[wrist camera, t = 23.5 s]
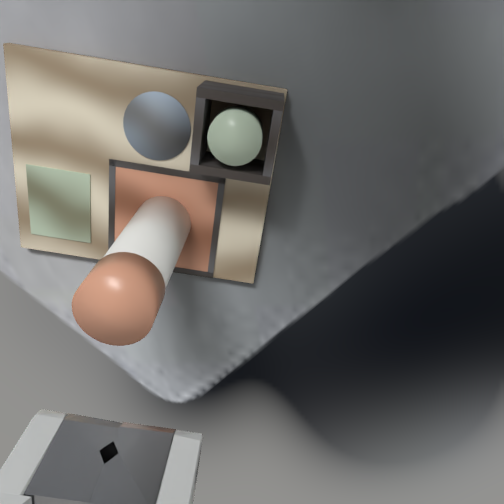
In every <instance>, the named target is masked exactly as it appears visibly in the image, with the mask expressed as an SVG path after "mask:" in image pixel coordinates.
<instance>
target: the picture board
mask: <svg viewBox="0 0 504 504" xmlns="http://www.w3.org/2000/svg"><path fill="white" fill-rule="evenodd" d="M3 46H4V58H5V69H6V81H7V92H8V104H9V115H10V127H11V138H12V149H13V161H14V172H15V184H16V195H17V207H18V218H19V230H20V241H21V247H23V248H29V249H35V250H42V251H48V252H55V253H61V254H67V255H74V256H80V257H86V258H93V259H99V260H100V259H102V258H103V257H104V255H105V254H106V253H107V251H108V250H109V249H110V247H111V246H112V245H113V243H114V242H115V240H116V239H117V238H118V236H119V235H120V234H121V232H122V231H123V230H124V228H125V227H126V225H127V224H128V223H129V221H130V220H131V219H132V217H133V216H134V214H135V213H136V212H137V210H138V209H139V208H140V206H141V205H142V204H143V203H144V202H145V201H146V200H148V199H150V198H152V197H156V196H166V197H170V198H173V199H175V200H177V201H178V202H180V203H181V204H182V205H183V206H184V207H185V208H186V210H187V211H188V213H189V216H190V219H191V228H190V232H189V234H188V236H187V239H186V241H185V244H184V246H183V249H182V251H181V253H180V256H179V258H178V261H177V263H176V265H175V268H174V270H173V272H177V273H184V274H190V275H196V276H203V277H209V278H213V277H214V278H220V279H227V280H233V281H240V282H246V283H252V284H253V282H254V276H255V271H256V265H257V259H258V254H259V248H260V242H261V237H262V231H263V225H264V220H265V214H266V208H267V203H268V197H269V191H270V186H271V180H272V174H273V169H274V163H275V157H276V152H277V146H278V140H279V135H280V129H281V124H282V118H283V112H284V107H285V101H286V95H287V89H284V88H277V87H271V86H265V85H259V84H253V83H247V82H241V81H235V80H229V79H223V78H217V77H211V76H205V75H199V74H193V73H187V72H181V71H175V70H169V69H163V68H157V67H151V66H145V65H139V64H133V63H127V62H121V61H115V60H109V59H103V58H97V57H91V56H85V55H79V54H73V53H67V52H61V51H55V50H49V49H43V48H36V47H30V46H24V45H18V44H12V43H4V44H3ZM230 106H243V107H246V108H248V109H250V110H252V111H253V112H254V113H255V114H256V115H257V116H258V117H259V119H260V121H261V123H262V127H263V139H262V145H261V148H260V151H259V153H258V154H257V156H256V157H255V158H254V159H253V160H252V161H250V162H249V163H247V164H244V165H240V166H231V165H227V164H224V163H222V162H221V161H219V160H218V159H217V158H216V157H215V156H214V155H213V154H212V152H211V150H210V148H209V146H208V140H207V135H208V130H209V127H210V125H211V123H212V122H213V120H214V119H215V117H216V116H217V114H218V113H219V112H220V111H222V110H223V109H225V108H227V107H230Z"/></svg>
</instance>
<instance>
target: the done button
mask: <svg viewBox="0 0 504 504" xmlns="http://www.w3.org/2000/svg"><path fill="white" fill-rule="evenodd" d="M262 139H263V127H262V123H261V121H260V119H259V117H258V116H257V115H256V114H255V113H254V112H253V111H252V110H250V109H248V108H246V107H243V106H230V107H227V108H225V109H223V110H222V111H220V112H219V113H218V114H217V116H216V117H215V119H214V120H213V122H212V123H211V125H210V127H209V130H208V135H207V140H208V146H209V148H210V150H211V152H212V154H213V155H214V156H215V157H216V158H217V159H218V160H219V161H221V162H222V163H224V164H227V165H231V166H240V165H244V164H247V163H249V162H250V161H252V160H253V159H254V158H255V157H256V156H257V154H258V153H259V151H260V148H261V145H262Z"/></svg>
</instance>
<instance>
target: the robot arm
mask: <svg viewBox="0 0 504 504" xmlns="http://www.w3.org/2000/svg"><path fill="white" fill-rule="evenodd" d="M202 440H203V434H201V433H194V432H188V431H180V430H176V429H169V428H163V427H155V426H148V425H141V424H133V423H126V422H123V423H120V422H114V421H108V420H103V419H97V418H92V417H86V416H81V415H75V414H68V413H62V412H56V411H50V410H44V409H41V410H40V411H39V412H38V413H37V414H36V415H35V416H34V417H33V418H32V420H31V421H30V423H29V425H28V426H27V428H26V430H25V431H24V433H23V434H22V436H21V438H20V439H19V441H18V442H17V444H16V446H15V447H14V449H13V450H12V452H11V454H10V455H9V457H8V458H7V460H6V462H5V463H4V465H3V466H2V468H1V470H0V504H193V501H194V493H195V487H196V481H197V474H198V466H199V460H200V454H201V447H202Z"/></svg>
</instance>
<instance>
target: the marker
mask: <svg viewBox="0 0 504 504" xmlns="http://www.w3.org/2000/svg"><path fill="white" fill-rule="evenodd" d="M190 228H191V219H190V216H189V213H188V211H187V210H186V208H185V207H184V206H183V205H182V204H181V203H180V202H178V201H177V200H175V199H173V198H170V197H166V196H156V197H152V198H150V199H148V200H146V201H145V202H144V203H143V204H142V205H141V206H140V208H139V209H138V210H137V212H136V213H135V214H134V216H133V217H132V219H131V220H130V221H129V223H128V224H127V225H126V227H125V228H124V230H123V231H122V232H121V234H120V235H119V236H118V238H117V239H116V240H115V242H114V243H113V245H112V246H111V247H110V249H109V250H108V251H107V253H106V254H105V255H104V257H103V258H102V259H100V260H99V261H98V262H97V264H96V265H95V266H94V268H93V269H92V270H91V272H90V273H89V274H88V276H87V277H86V278H85V280H84V281H83V282H82V284H81V285H80V286H79V288H78V289H77V291H76V292H75V294H74V296H73V300H72V311H73V315H74V318H75V320H76V322H77V323H78V325H79V326H80V327H81V329H82V330H83V331H84V332H85V333H87V334H88V335H89V336H91V337H92V338H94V339H96V340H97V341H100V342H102V343H105V344H109V345H117V346H123V345H130V344H133V343H136V342H138V341H140V340H141V339H143V338H144V337H145V336H146V335H147V334H148V333H149V331H150V330H151V328H152V325H153V323H154V320H155V318H156V316H157V313H158V311H159V308H160V306H161V303H162V301H163V298H164V295H165V289H166V287H167V285H168V282H169V280H170V277H171V275H172V273H173V270H174V268H175V265H176V263H177V261H178V258H179V256H180V253H181V251H182V249H183V246H184V244H185V241H186V239H187V236H188V234H189V232H190Z"/></svg>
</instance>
